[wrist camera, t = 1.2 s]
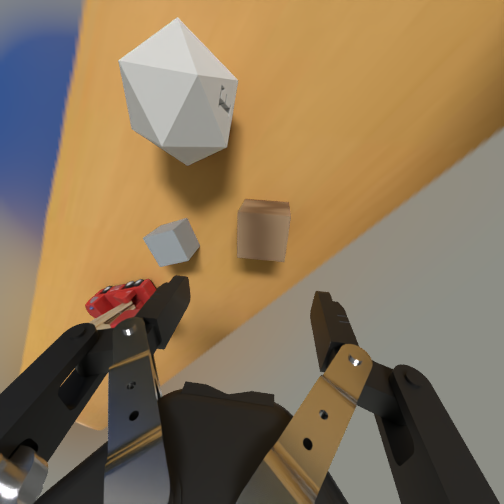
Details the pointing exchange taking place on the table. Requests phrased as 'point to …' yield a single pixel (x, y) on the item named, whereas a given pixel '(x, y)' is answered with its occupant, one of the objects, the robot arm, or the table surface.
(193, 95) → the die
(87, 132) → the table surface
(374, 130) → the table surface
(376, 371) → the robot arm
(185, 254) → the slate block
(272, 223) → the walnut block
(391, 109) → the table surface
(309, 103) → the table surface
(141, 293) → the toy fire truck
